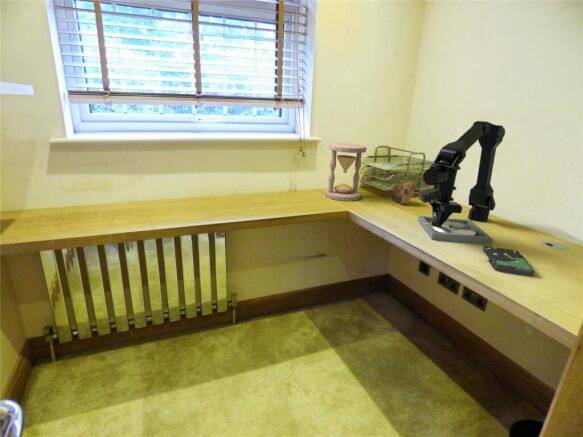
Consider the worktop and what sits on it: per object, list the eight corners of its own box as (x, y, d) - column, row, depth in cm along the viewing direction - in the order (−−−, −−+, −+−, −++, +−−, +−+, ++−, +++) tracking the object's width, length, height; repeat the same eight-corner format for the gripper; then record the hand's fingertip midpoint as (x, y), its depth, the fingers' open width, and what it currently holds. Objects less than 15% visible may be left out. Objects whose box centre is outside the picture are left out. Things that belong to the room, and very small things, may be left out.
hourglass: (355, 192, 181) (361, 144, 173) (364, 202, 164) (371, 148, 156) (322, 191, 180) (326, 142, 171) (327, 200, 163) (332, 146, 155)
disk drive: (481, 253, 115) (494, 272, 101) (483, 245, 114) (497, 263, 101) (515, 258, 113) (534, 278, 99) (517, 250, 112) (536, 269, 98)
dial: (465, 226, 136) (469, 209, 134) (482, 242, 121) (487, 223, 119) (423, 223, 137) (427, 206, 135) (436, 238, 122) (440, 219, 120)
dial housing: (468, 227, 138) (470, 219, 137) (490, 246, 119) (493, 238, 118) (417, 222, 140) (418, 215, 139) (431, 241, 121) (433, 232, 120)
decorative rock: (412, 206, 163) (416, 183, 159) (401, 206, 161) (405, 183, 157) (398, 199, 173) (402, 178, 170) (388, 199, 172) (391, 178, 168)
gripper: (414, 175, 131) (407, 214, 137) (434, 188, 114) (425, 232, 119) (442, 176, 132) (434, 215, 137) (467, 189, 114) (457, 233, 120)
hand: (437, 223), depth 128 cm, fingers open, 4 cm apart
